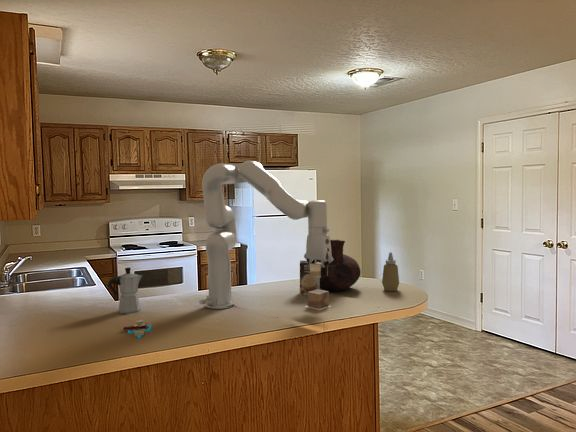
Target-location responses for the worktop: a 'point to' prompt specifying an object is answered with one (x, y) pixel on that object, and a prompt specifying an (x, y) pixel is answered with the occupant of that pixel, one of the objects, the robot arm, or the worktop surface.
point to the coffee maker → (127, 291)
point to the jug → (340, 269)
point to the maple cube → (316, 270)
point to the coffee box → (307, 279)
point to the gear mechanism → (140, 326)
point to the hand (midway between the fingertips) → (318, 275)
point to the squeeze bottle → (390, 274)
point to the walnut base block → (318, 299)
